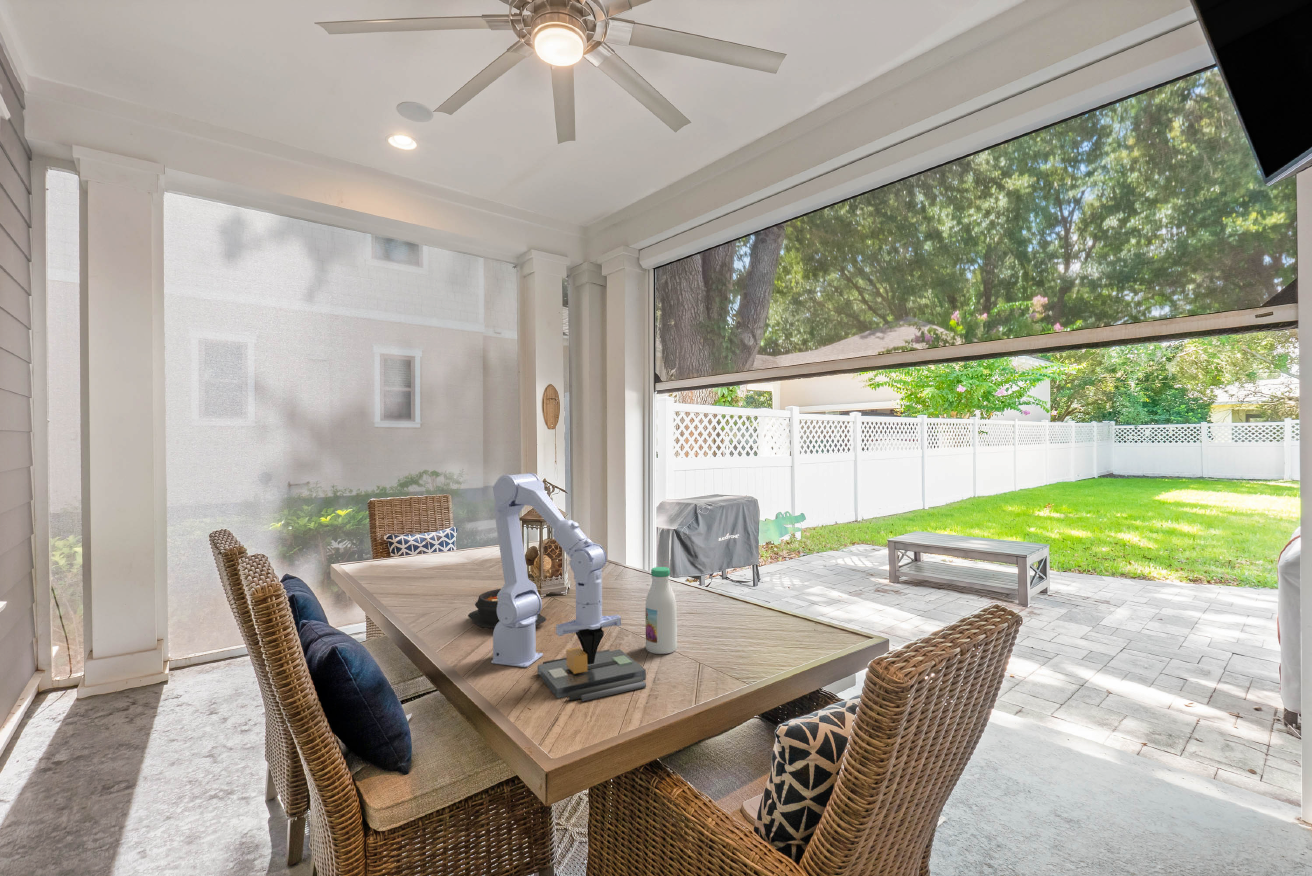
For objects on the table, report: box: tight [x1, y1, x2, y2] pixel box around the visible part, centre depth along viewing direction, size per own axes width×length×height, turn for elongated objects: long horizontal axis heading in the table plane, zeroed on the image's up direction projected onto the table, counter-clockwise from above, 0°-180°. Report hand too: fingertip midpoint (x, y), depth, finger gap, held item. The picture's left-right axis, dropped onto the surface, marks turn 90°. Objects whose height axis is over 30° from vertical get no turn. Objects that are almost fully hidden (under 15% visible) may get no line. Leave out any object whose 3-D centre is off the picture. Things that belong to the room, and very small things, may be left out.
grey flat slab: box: [537, 648, 647, 700], centre depth 131 cm, size 20×14×2 cm
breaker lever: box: [566, 646, 588, 674], centre depth 129 cm, size 3×5×4 cm, turn 27°
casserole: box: [467, 588, 547, 630], centre depth 168 cm, size 25×19×8 cm
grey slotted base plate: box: [542, 649, 647, 703], centre depth 130 cm, size 16×21×2 cm
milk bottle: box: [644, 566, 678, 655], centre depth 147 cm, size 8×8×20 cm
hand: (589, 662), depth 131 cm, fingers closed
